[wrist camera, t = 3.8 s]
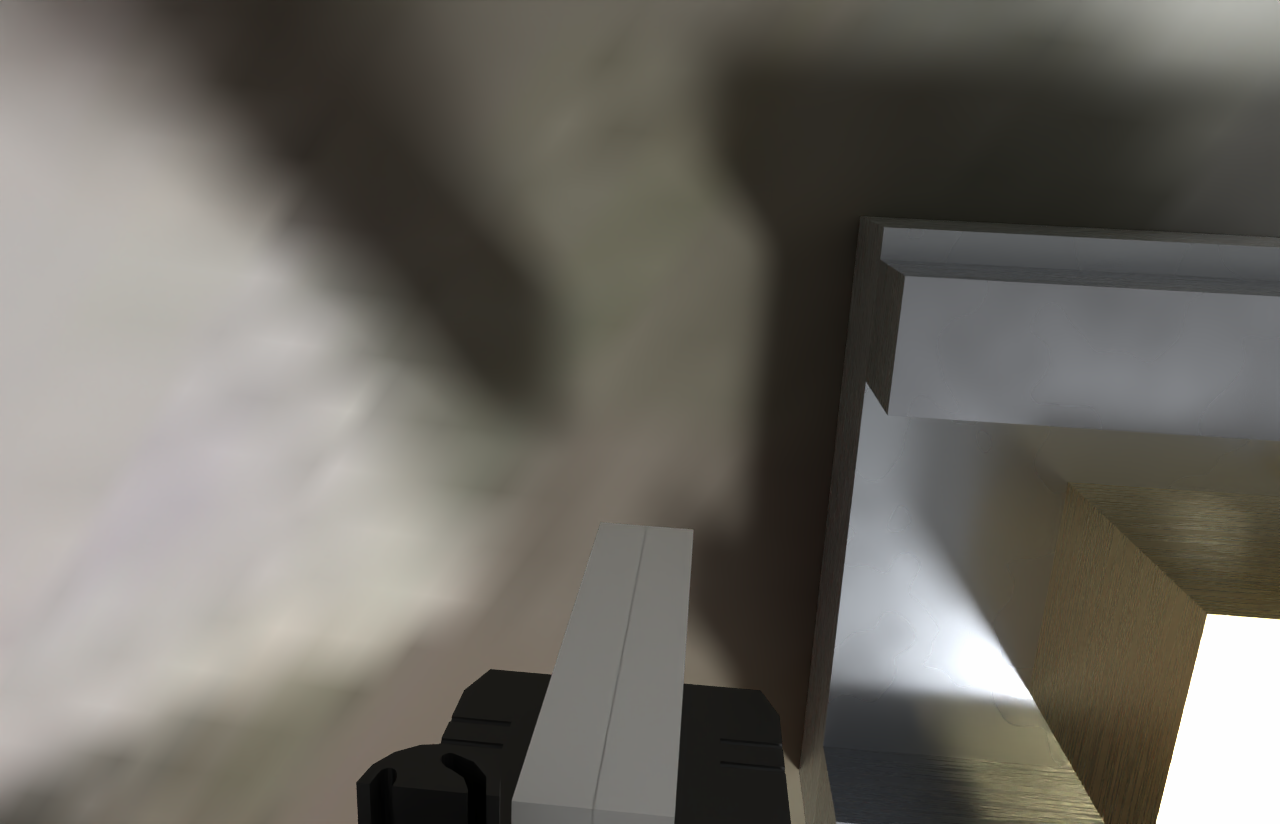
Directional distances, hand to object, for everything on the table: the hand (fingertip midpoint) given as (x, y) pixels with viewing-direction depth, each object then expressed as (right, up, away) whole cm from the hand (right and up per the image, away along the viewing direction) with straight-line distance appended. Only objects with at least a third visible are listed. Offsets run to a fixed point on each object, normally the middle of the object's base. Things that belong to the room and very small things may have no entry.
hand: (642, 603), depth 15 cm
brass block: (+9, 0, +1) cm, 9 cm away
